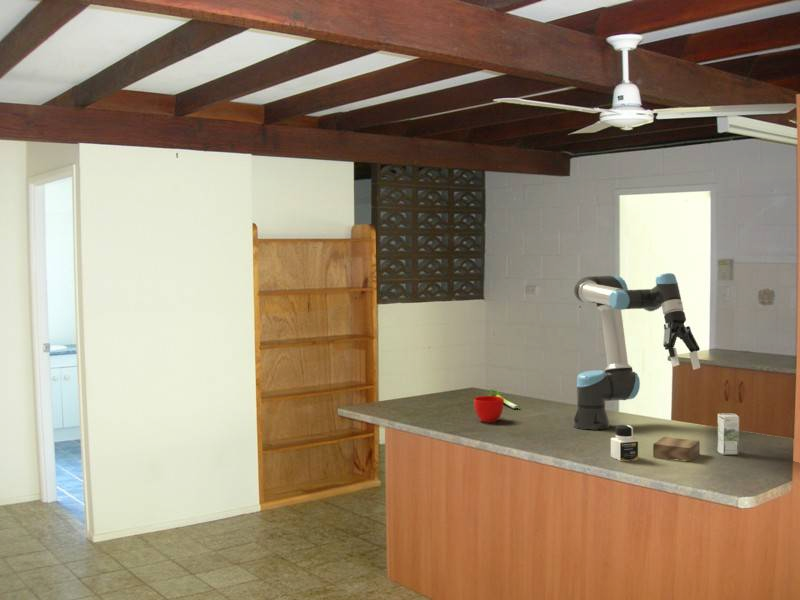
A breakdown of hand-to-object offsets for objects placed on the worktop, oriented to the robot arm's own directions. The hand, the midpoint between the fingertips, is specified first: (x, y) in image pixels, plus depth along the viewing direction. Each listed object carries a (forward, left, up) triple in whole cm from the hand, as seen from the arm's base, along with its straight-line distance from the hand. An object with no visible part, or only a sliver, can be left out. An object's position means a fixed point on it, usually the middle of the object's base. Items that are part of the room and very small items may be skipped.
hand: (686, 367), depth 315 cm
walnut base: (-1, -9, -31) cm, 33 cm away
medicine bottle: (-16, -22, -32) cm, 42 cm away
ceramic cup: (-90, +15, -32) cm, 97 cm away
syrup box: (+14, +4, -32) cm, 35 cm away
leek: (-101, +52, -32) cm, 118 cm away
